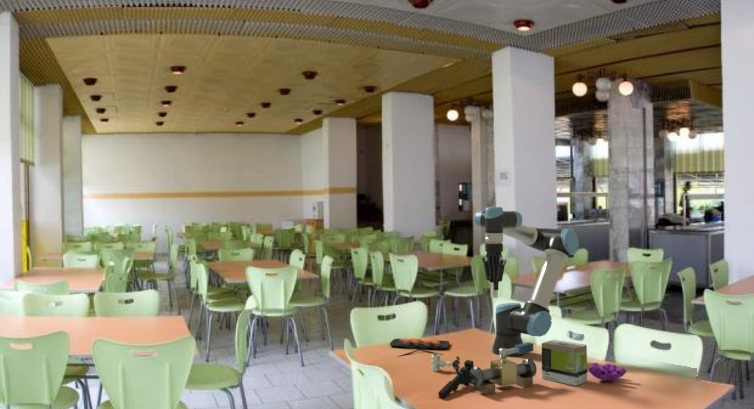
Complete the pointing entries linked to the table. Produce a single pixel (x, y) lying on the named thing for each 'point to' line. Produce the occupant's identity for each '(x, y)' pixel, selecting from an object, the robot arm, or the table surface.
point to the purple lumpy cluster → (606, 372)
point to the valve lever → (516, 349)
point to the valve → (443, 363)
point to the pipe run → (503, 375)
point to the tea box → (564, 362)
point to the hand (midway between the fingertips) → (494, 297)
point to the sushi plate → (420, 344)
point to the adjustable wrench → (457, 380)
